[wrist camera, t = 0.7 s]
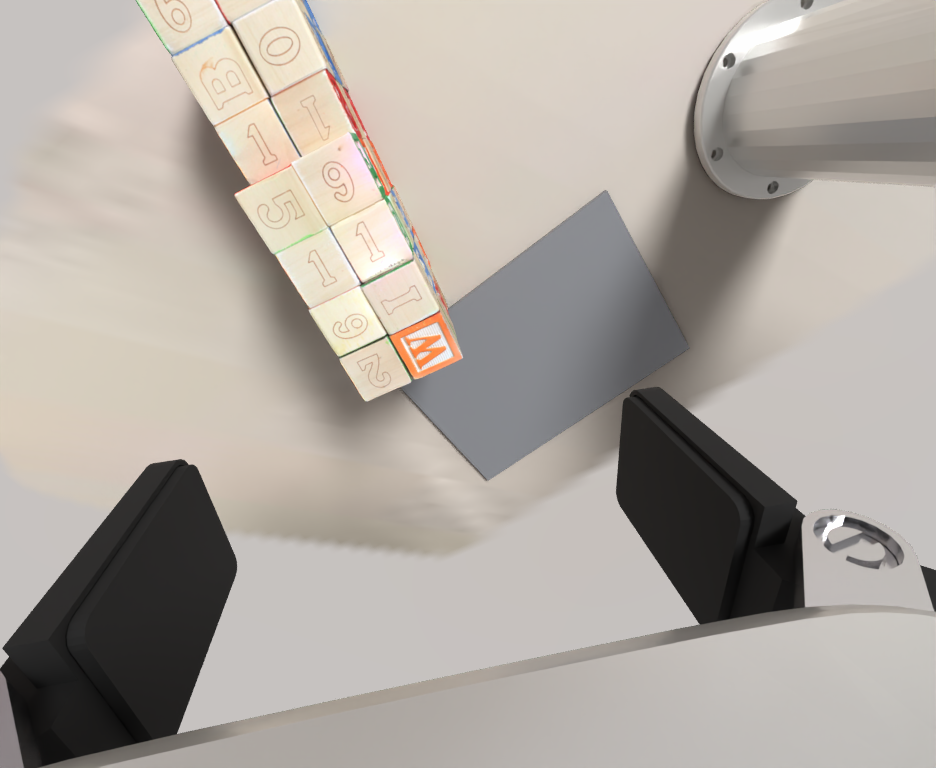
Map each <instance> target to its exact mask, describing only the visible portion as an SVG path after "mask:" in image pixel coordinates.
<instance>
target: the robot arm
mask: <svg viewBox="0 0 936 768" xmlns="http://www.w3.org/2000/svg"><path fill="white" fill-rule="evenodd" d="M723 61H724V65H723ZM694 137H695V144H696V150H697V153H698V156H699V159H700V161H701V164H702V166H703V168H704V169H705V171H706V173H707V174H708V176H709V177H710V178H711V179H712V180H713V181H714V182H715V183H716V184H717V185H718V186H719V187H720V188H721V189H723V190H725V191H727V192H728V193H730V194H732V195H736V196H740V197H743V198H751V199H772V198H776V197H780V196H783V195H787V194H790V193H792V192H794V191H796V190H798V189H800V188H802V187H804V186H806V185H807V184H809V183H810V182H811V181H813V180H826V181H843V182H860V183H877V184H894V185H911V186H928V187H936V0H768V1H766V2H764V3H762V4H760V5H758V6H757V7H756V8H755V9H753V10H752V11H751V12H750V13H748V14H747V15H746V16H744V17H743V18H742V19H741V20H740V21H739V22H738V23H737V24H736V26H735V27H734V28H733V29H732V30H731V31H730V32H729V33H728V34H727V36H726V37H725V39H724V40H723V41H722V43H721V44H720V46H719V47H718V49H717V50H716V52H715V53H714V55H713V57H712V59H711V61H710V63H709V65H708V67H707V69H706V71H705V73H704V76H703V79H702V82H701V85H700V88H699V91H698V95H697V101H696V106H695V112H694ZM712 152H713V154H712ZM711 154H712V156H711ZM616 495H617V499H618V502H619V505H620V507H621V508H622V510H623V511H624V513H625V514H626V516H627V517H628V519H629V520H630V522H631V523H632V525H633V526H634V527H635V529H636V531H637V532H638V534H639V535H640V536H641V538H642V539H643V541H644V542H645V544H646V545H647V547H648V548H649V550H650V551H651V553H652V554H653V556H654V557H655V559H656V560H657V562H658V563H659V564H660V566H661V568H662V569H663V570H664V572H665V573H666V575H667V577H668V578H669V579H670V581H671V582H672V584H673V585H674V587H675V588H676V590H677V591H678V593H679V594H680V596H681V597H682V599H683V600H684V602H685V603H686V605H687V606H688V607H689V609H690V611H691V612H692V613H693V615H694V617H695V618H696V620H697V621H698V623H699V624H700V625H696V626H691V627H685V628H680V629H675V630H670V631H665V632H660V633H655V634H650V635H645V636H641V637H635V638H631V639H626V640H621V641H616V642H611V643H606V644H601V645H596V646H592V647H586V648H581V649H577V650H572V651H567V652H562V653H557V654H552V655H547V656H543V657H537V658H533V659H528V660H523V661H518V662H513V663H509V664H504V665H499V666H494V667H489V668H485V669H480V670H475V671H470V672H465V673H461V674H456V675H451V676H446V677H442V678H437V679H433V680H427V681H423V682H418V683H413V684H408V685H404V686H399V687H395V688H389V689H385V690H380V691H375V692H371V693H366V694H361V695H356V696H352V697H347V698H342V699H338V700H333V701H328V702H323V703H319V704H314V705H310V706H305V707H300V708H296V709H291V710H287V711H282V712H278V713H273V714H268V715H263V716H259V717H254V718H249V719H245V720H241V721H236V722H231V723H226V724H221V725H217V726H212V727H208V728H203V729H199V730H194V731H190V732H185V733H180V734H177V732H178V729H179V727H180V724H181V722H182V719H183V716H184V713H185V711H186V708H187V705H188V702H189V700H190V697H191V695H192V692H193V689H194V687H195V684H196V681H197V678H198V675H199V673H200V670H201V668H202V665H203V662H204V659H205V657H206V654H207V652H208V649H209V646H210V643H211V641H212V638H213V635H214V633H215V630H216V627H217V625H218V622H219V619H220V617H221V614H222V611H223V608H224V606H225V603H226V600H227V598H228V595H229V592H230V590H231V587H232V584H233V582H234V579H235V576H236V572H237V561H236V557H235V554H234V552H233V550H232V547H231V545H230V543H229V541H228V538H227V536H226V534H225V531H224V529H223V527H222V524H221V522H220V520H219V517H218V515H217V513H216V510H215V508H214V506H213V503H212V501H211V499H210V496H209V494H208V492H207V489H206V487H205V485H204V482H203V480H202V478H201V475H200V473H199V471H198V469H197V467H196V466H195V465H188V463H187V462H186V461H185V460H182V459H179V460H173V461H166V462H160V463H153V464H150V465H149V466H148V467H146V469H145V470H144V471H143V472H142V474H141V475H140V476H139V477H138V479H137V480H136V481H135V482H134V484H133V485H132V486H131V487H130V489H129V490H128V491H127V492H126V494H125V495H124V496H123V497H122V499H121V500H120V501H119V503H118V504H117V505H116V506H115V508H114V509H113V510H112V511H111V513H110V514H109V515H108V516H107V518H106V519H105V520H104V521H103V523H102V524H101V525H100V526H99V528H98V529H97V530H96V531H95V533H94V534H93V535H92V536H91V538H90V539H89V540H88V542H87V543H86V544H85V545H84V547H83V548H82V549H81V550H80V552H79V553H78V554H77V555H76V557H75V558H74V559H73V560H72V562H71V563H70V564H69V565H68V566H67V568H66V569H65V570H64V571H63V573H62V574H61V575H60V576H59V578H58V579H57V580H56V582H55V583H54V584H53V585H52V587H51V588H50V589H49V590H48V592H47V593H46V594H45V595H44V597H43V598H42V599H41V600H40V602H39V603H38V604H37V605H36V607H35V608H34V609H33V611H32V612H31V613H30V614H29V615H28V617H27V618H26V619H25V620H24V622H23V623H22V624H21V626H20V627H19V628H18V629H17V630H16V632H15V633H14V634H13V636H12V637H11V638H10V639H9V641H8V642H7V643H6V644H5V645H4V647H3V650H4V651H5V652H6V653H7V654H8V656H9V658H8V659H7V660H6V662H5V663H4V664H3V665H2V667H1V668H0V768H936V570H934V569H930V568H927V567H924V566H921V565H920V564H919V561H918V557H917V555H916V553H915V552H914V550H913V548H912V546H911V545H910V544H909V543H908V542H906V540H905V539H904V538H903V537H902V536H901V535H899V534H898V533H896V532H895V531H893V530H892V529H890V528H889V527H887V526H886V525H884V524H882V523H879V522H877V521H875V520H873V519H871V518H869V517H865V516H863V515H859V514H856V513H853V512H849V511H843V510H837V509H830V510H829V509H823V510H818V511H814V512H811V513H809V514H808V515H807V516H805V515H803V514H802V513H801V512H800V511H799V510H798V509H796V504H797V500H796V499H794V498H793V497H792V496H791V495H789V494H788V493H787V492H786V491H785V490H783V489H782V488H781V487H780V486H778V485H777V484H776V483H775V482H774V481H773V480H771V479H770V478H769V477H768V476H766V475H765V474H764V473H763V472H762V471H760V470H759V469H758V468H757V467H756V466H754V465H753V464H752V463H751V462H750V461H748V460H747V459H746V458H745V457H743V456H742V455H741V454H740V453H738V452H737V451H736V450H735V449H734V448H733V447H731V446H730V445H729V444H728V443H727V442H725V441H724V440H723V439H722V438H721V437H719V436H718V435H717V434H716V433H714V432H713V431H712V430H711V429H710V428H708V427H707V426H706V425H705V424H703V423H702V422H701V421H700V420H699V419H698V418H696V417H695V416H694V415H693V414H692V413H690V412H689V411H688V410H687V409H686V408H684V407H683V406H682V405H681V404H679V403H678V402H677V401H676V400H675V399H673V398H672V397H671V396H670V395H669V394H667V393H666V392H665V391H664V390H663V389H661V388H659V387H653V388H647V389H640V390H634V391H632V392H631V394H630V397H629V398H626V399H624V402H623V409H622V422H621V435H620V448H619V461H618V474H617V486H616Z"/></svg>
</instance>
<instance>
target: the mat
mask: <svg viewBox="0 0 936 768" xmlns="http://www.w3.org/2000/svg"><path fill="white" fill-rule="evenodd" d="M448 313H449V316H450V319H451V321H452V323H453V326H454V329H455V332H456V337H457V341H458V344H459V347H460V350H461V352H462V355H463V358H462V359H460V360H459V361H457V362H455V363H452V364H450V365H448V366H446V367H444V368H442V369H439V370H437V371H435V372H433V373H431V374H428V375H426V376H424V377H422V378H419V379H412V381H411V383H409V384H407V385H404V386H402V387H400V388H401V389H402V390H403V391H404V392H405V393H406V394H407V395H408V396H409V397H410V398H411V399H412V400H413V402H414V403H415V404H416V405H417V406H418V407H419V408H420V409H421V410H422V411H423V412H424V413H425V414H426V415H427V416H428V417H429V418H430V420H431V421H432V422H433V423H434V424H435V425H436V426H437V427H438V428H439V429H440V430H441V431H442V432H443V433H444V434H445V435H446V437H447V438H448V439H449V440H450V441H451V442H452V443H453V444H454V445H455V446H456V447H457V448H458V449H459V450H460V451H461V452H462V454H463V455H464V456H465V457H466V458H467V459H468V460H469V461H470V462H471V463H472V464H473V465H474V466H475V467H476V468H477V469H478V471H479V472H480V473H481V474H482V475H483V476H484V477H485V478H486V479H487V480H490V479H491V478H493V477H494V476H496V475H497V474H499V473H501V472H502V471H504V470H505V469H507V468H508V467H510V466H511V465H513V464H514V463H516V462H517V461H519V460H520V459H522V458H523V457H525V456H526V455H528V454H529V453H531V452H532V451H534V450H536V449H537V448H539V447H540V446H542V445H543V444H545V443H546V442H548V441H549V440H551V439H552V438H554V437H555V436H557V435H558V434H560V433H561V432H563V431H564V430H566V429H567V428H569V427H571V426H572V425H574V424H575V423H577V422H578V421H580V420H581V419H583V418H584V417H586V416H587V415H589V414H590V413H592V412H593V411H595V410H596V409H598V408H599V407H601V406H602V405H604V404H605V403H607V402H609V401H610V400H612V399H613V398H615V397H616V396H618V395H619V394H621V393H622V392H624V391H625V390H627V389H628V388H630V387H631V386H633V385H634V384H636V383H637V382H639V381H640V380H642V379H644V378H645V377H647V376H648V375H650V374H651V373H653V372H654V371H656V370H657V369H659V368H660V367H662V366H663V365H665V364H666V363H668V362H669V361H671V360H672V359H674V358H675V357H677V356H679V355H680V354H682V353H683V352H685V351H686V350H688V349H689V346H688V344H687V342H686V340H685V338H684V337H683V335H682V333H681V331H680V329H679V327H678V325H677V323H676V321H675V319H674V317H673V316H672V314H671V312H670V310H669V308H668V306H667V304H666V302H665V300H664V298H663V297H662V295H661V293H660V291H659V289H658V287H657V285H656V283H655V281H654V279H653V277H652V276H651V274H650V272H649V270H648V268H647V266H646V264H645V262H644V260H643V258H642V256H641V255H640V253H639V251H638V249H637V247H636V245H635V243H634V241H633V239H632V237H631V235H630V234H629V232H628V230H627V228H626V226H625V224H624V222H623V220H622V218H621V216H620V214H619V213H618V211H617V209H616V207H615V205H614V203H613V201H612V199H611V197H610V195H609V193H608V192H607V191H606V190H605V191H603V192H602V193H601V194H599V195H598V196H597V197H595V198H594V199H593V200H591V201H590V202H589V203H587V204H586V205H585V206H583V207H582V208H581V209H580V210H578V211H577V212H576V213H574V214H573V215H572V216H570V217H569V218H568V219H566V220H565V221H564V222H562V223H561V224H560V225H558V226H557V227H556V228H554V229H553V230H552V231H550V232H549V233H548V234H546V235H545V236H544V237H542V238H541V239H540V240H538V241H537V242H536V243H534V244H533V245H532V246H530V247H529V248H528V249H527V250H525V251H524V252H523V253H521V254H520V255H519V256H517V257H516V258H515V259H513V260H512V261H511V262H509V263H508V264H507V265H505V266H504V267H503V268H501V269H500V270H499V271H497V272H496V273H495V274H493V275H492V276H491V277H489V278H488V279H487V280H485V281H484V282H483V283H481V284H480V285H479V286H477V287H476V288H475V289H473V290H472V291H471V292H470V293H468V294H467V295H466V296H464V297H463V298H462V299H460V300H459V301H458V302H456V303H455V304H454V305H452V306H451V307H450V308H448Z"/></svg>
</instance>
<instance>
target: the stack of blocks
mask: <svg viewBox="0 0 936 768" xmlns="http://www.w3.org/2000/svg"><path fill="white" fill-rule="evenodd" d="M136 2H137V3H138V5H139V7H140V8H141V10H142V11H143V13H144V15H145V16H146V18H147V19H148V21H149V22H150V24H151V26H152V27H153V29H154V31H155V32H156V34H157V35H158V37H159V39H160V40H161V41H162V43H163V45H164V46H165V48H166V49H167V50H168V51H169V53H170V54H171V55H172V61H173V63H174V64H175V66H176V68H177V69H178V71H179V73H180V74H181V76H182V77H183V79H184V81H185V82H186V84H187V85H188V87H189V89H190V90H191V92H192V93H193V95H194V96H195V98H196V100H197V101H198V103H199V104H200V106H201V108H202V109H203V111H204V112H205V114H206V116H207V117H208V119H209V121H210V122H211V124H212V125H213V126H214V127H215V130H216V132H217V134H218V136H219V137H220V139H221V140H222V142H223V144H224V145H225V147H226V149H227V150H228V152H229V153H230V155H231V156H232V158H233V159H234V161H235V162H236V164H237V166H238V167H239V169H240V170H241V172H242V173H243V175H244V177H245V178H246V180H247V181H248V182H249V184H250V186H248V187H246V188H244V189H242V190H240V191H238V192H237V193H235V194H234V196H235V198H236V199H237V201H238V203H239V204H240V206H241V207H242V209H243V210H244V212H245V213H246V215H247V216H248V218H249V219H250V221H251V222H252V224H253V225H254V227H255V228H256V230H257V232H258V233H259V235H260V236H261V238H262V239H263V241H264V242H265V244H266V245H267V247H268V248H269V250H270V252H271V253H272V254H274V255H275V256H276V258H277V259H278V261H279V263H280V264H281V266H282V268H283V269H284V271H285V272H286V274H287V275H288V277H289V279H290V280H291V282H292V283H293V284H294V286H295V288H296V289H297V291H298V292H299V294H300V296H301V297H302V299H303V300H304V302H305V303H306V304H307V306H308V307H309V313H310V314H311V316H312V318H313V319H314V321H315V322H316V324H317V326H318V327H319V329H320V330H321V332H322V333H323V335H324V336H325V338H326V340H327V341H328V343H329V344H330V346H331V347H332V349H333V351H334V352H335V354H336V355H337V356H338V357H339V360H340V363H341V365H342V366H343V368H344V369H345V371H346V373H347V374H348V376H349V377H350V379H351V381H352V382H353V384H354V386H355V387H356V389H357V390H358V392H359V394H360V395H361V397H362V398H363V400H364V401H370V400H372V399H374V398H376V397H379V396H381V395H383V394H386V393H388V392H390V391H393V390H395V389H397V388H400V387H402V386H404V385H407V384H409V383H411V381H412V379H419V378H422V377H424V376H426V375H428V374H431V373H433V372H435V371H437V370H439V369H442V368H444V367H446V366H448V365H450V364H452V363H455V362H457V361H459V360H460V359H462V358H463V355H462V352H461V350H460V347H459V344H458V341H457V337H456V332H455V329H454V326H453V323H452V321H451V319H450V316H449V313H448V306H447V303H446V301H445V298H444V296H443V293H442V291H441V289H440V287H439V285H438V283H437V280H436V278H435V276H434V274H433V272H432V269H431V267H430V263H429V260H428V258H427V256H426V254H425V252H424V250H423V247H422V245H421V243H420V241H419V239H418V237H417V234H416V232H415V230H414V228H413V226H412V224H411V221H410V219H409V217H408V214H407V212H406V210H405V208H404V206H403V203H402V201H401V199H400V197H399V195H398V193H397V191H396V188H395V187H394V186H393V185H392V184H391V182H390V180H389V177H388V175H387V173H386V171H385V169H384V167H383V165H382V162H381V160H380V158H379V156H378V154H377V152H376V150H375V147H374V145H373V143H372V142H371V141H370V139H369V137H368V135H367V132H366V130H365V128H364V126H363V124H362V122H361V119H360V117H359V115H358V113H357V111H356V109H355V107H354V105H353V102H352V100H351V98H350V96H349V94H348V91H349V89H348V87H347V85H346V82H345V80H344V78H343V76H342V74H341V72H340V69H339V67H338V65H337V63H336V61H335V59H334V56H333V54H332V52H331V50H330V48H329V46H328V44H327V41H326V39H325V38H324V36H323V35H322V33H321V31H320V29H319V26H318V24H317V22H316V20H315V18H314V16H313V13H312V11H311V9H310V7H309V5H308V3H307V1H306V0H136Z"/></svg>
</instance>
